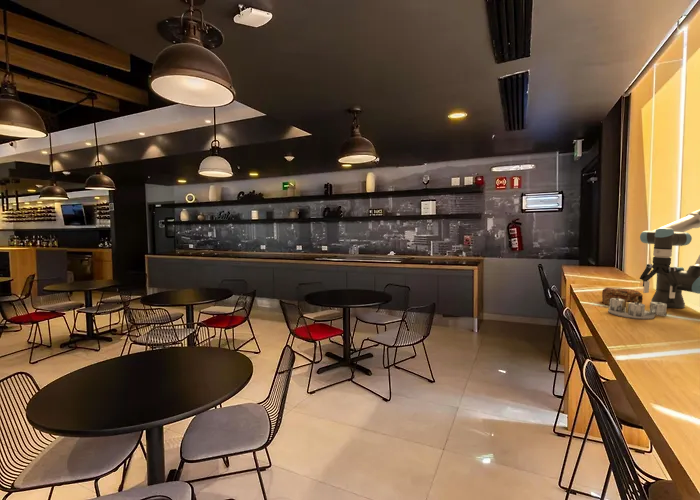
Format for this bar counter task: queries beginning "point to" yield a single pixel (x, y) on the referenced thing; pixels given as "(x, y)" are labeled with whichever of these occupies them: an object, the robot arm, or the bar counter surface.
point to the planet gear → (658, 308)
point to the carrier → (629, 309)
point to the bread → (621, 295)
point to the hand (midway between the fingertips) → (658, 295)
